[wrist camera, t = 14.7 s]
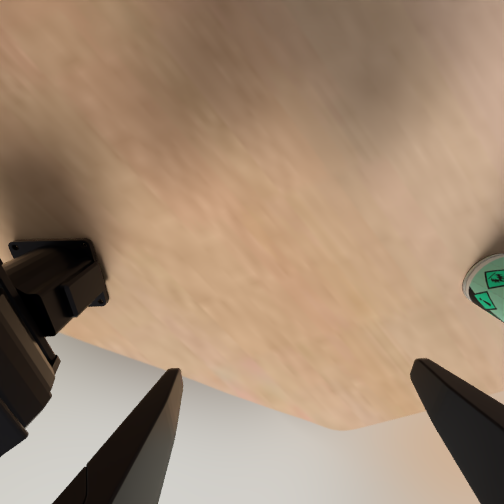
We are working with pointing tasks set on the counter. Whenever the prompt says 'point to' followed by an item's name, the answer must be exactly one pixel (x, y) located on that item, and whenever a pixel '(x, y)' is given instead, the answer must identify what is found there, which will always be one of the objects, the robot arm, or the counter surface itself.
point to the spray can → (487, 285)
